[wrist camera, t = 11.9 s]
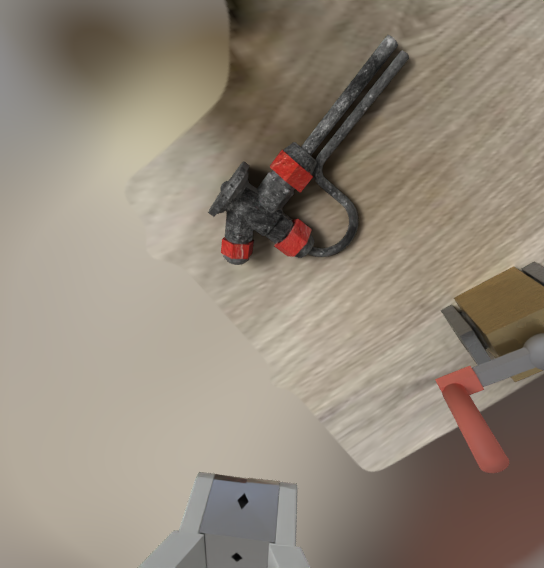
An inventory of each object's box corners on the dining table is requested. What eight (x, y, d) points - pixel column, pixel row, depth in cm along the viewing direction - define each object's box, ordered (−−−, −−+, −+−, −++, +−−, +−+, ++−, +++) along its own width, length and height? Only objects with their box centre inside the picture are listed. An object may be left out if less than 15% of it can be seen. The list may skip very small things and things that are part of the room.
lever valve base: (531, 256, 37) (589, 289, 30) (555, 302, 39) (614, 344, 32) (437, 306, 41) (468, 346, 33) (463, 346, 43) (497, 392, 35)
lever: (553, 327, 31) (645, 400, 23) (563, 351, 32) (655, 431, 24) (432, 376, 35) (472, 455, 26) (444, 396, 36) (487, 479, 27)
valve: (289, 291, 44) (192, 223, 39) (446, 121, 35) (347, 6, 31) (294, 318, 39) (182, 243, 34) (483, 123, 30) (368, -16, 25)
